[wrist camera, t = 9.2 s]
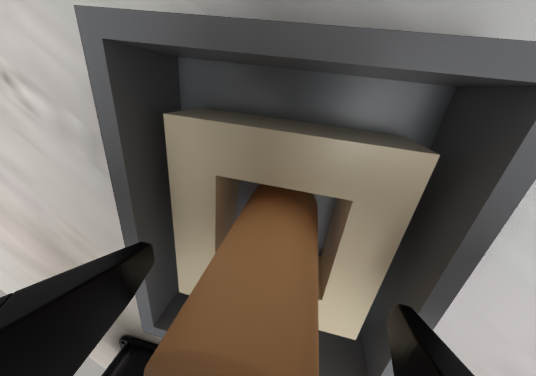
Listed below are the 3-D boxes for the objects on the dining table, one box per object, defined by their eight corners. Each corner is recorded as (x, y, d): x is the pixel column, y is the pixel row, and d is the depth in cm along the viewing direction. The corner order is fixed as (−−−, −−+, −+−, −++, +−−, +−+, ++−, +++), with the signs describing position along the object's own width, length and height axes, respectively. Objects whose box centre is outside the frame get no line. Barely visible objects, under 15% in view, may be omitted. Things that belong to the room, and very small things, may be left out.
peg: (247, 230, 14) (153, 420, 6) (252, 172, 12) (130, 327, 4) (310, 244, 13) (300, 473, 5) (324, 184, 12) (341, 390, 4)
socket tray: (186, 271, 18) (143, 331, 13) (171, 39, 11) (73, 4, 7) (364, 316, 16) (381, 404, 12) (475, 68, 9) (625, 48, 5)
